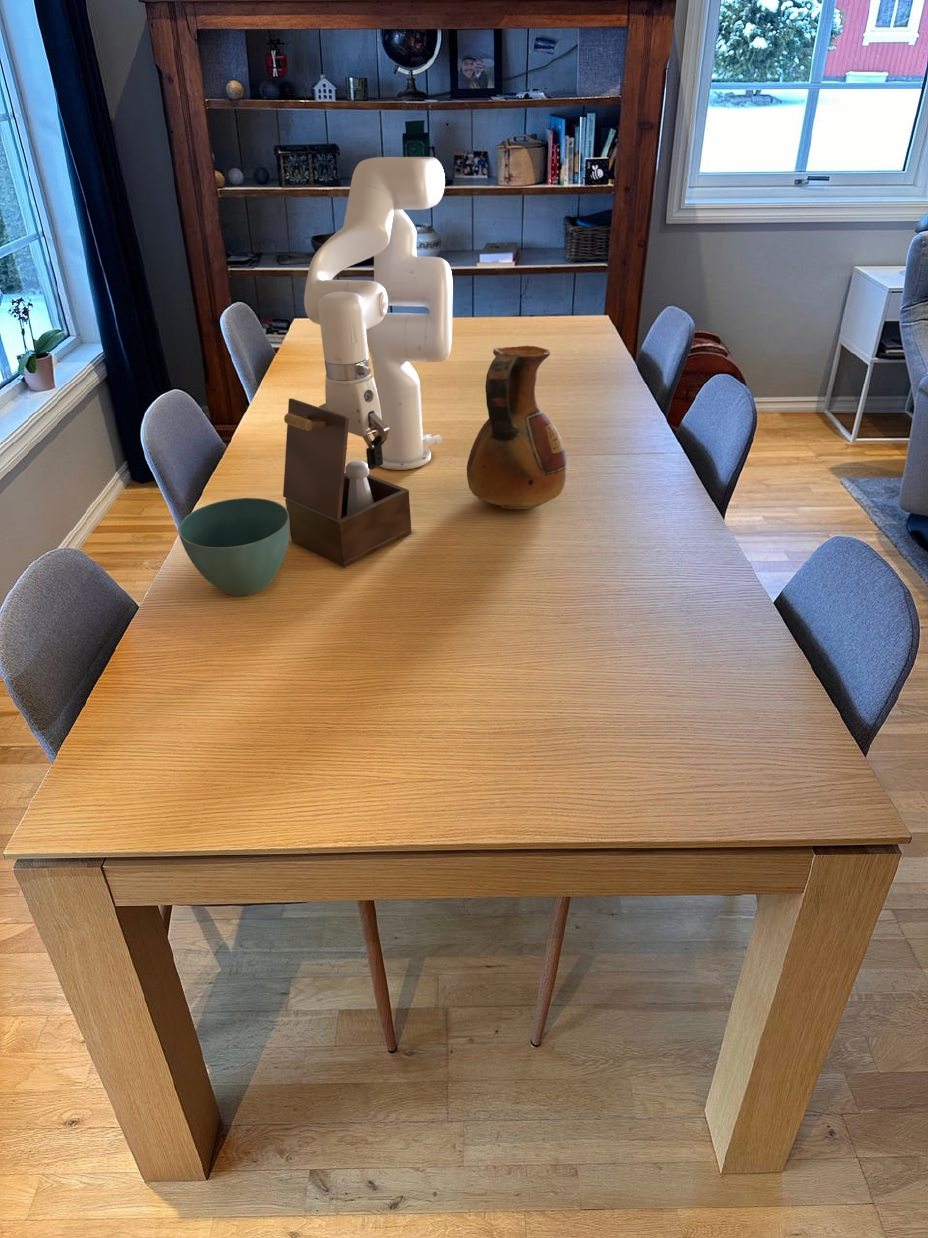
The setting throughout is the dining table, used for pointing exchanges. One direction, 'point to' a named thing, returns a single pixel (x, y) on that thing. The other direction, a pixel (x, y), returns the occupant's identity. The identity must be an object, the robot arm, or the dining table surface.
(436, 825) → the dining table surface
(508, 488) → the ceramic pitcher
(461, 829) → the dining table surface
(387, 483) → the chest
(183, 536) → the green bowl
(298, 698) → the dining table surface
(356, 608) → the dining table surface
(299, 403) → the chest lid
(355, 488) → the salt shaker
